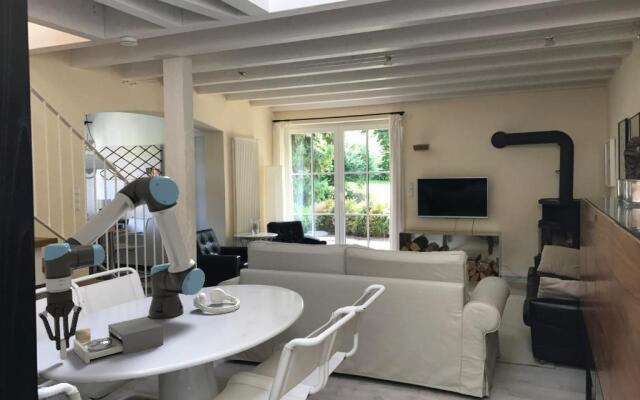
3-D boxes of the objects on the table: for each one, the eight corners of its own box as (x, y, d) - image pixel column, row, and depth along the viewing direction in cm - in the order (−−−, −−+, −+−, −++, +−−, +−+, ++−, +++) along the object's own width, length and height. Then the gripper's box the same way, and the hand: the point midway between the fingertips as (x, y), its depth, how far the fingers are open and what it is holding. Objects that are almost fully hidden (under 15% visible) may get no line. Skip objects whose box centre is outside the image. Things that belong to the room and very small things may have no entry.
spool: (74, 346, 168) (73, 330, 168) (89, 342, 171) (88, 327, 171) (77, 349, 164) (76, 333, 164) (92, 346, 167) (91, 330, 167)
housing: (146, 333, 179) (145, 316, 179) (163, 344, 167) (162, 325, 166) (108, 343, 170) (107, 324, 170) (123, 355, 157) (122, 335, 157)
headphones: (188, 310, 211) (219, 320, 201) (188, 293, 210) (220, 303, 200) (218, 300, 228) (248, 309, 217) (219, 284, 227) (249, 293, 217)
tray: (114, 340, 171) (113, 330, 171) (129, 352, 159) (128, 341, 159) (73, 350, 162) (73, 340, 162) (86, 363, 150) (85, 352, 149)
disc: (109, 341, 166) (109, 336, 166) (115, 347, 160) (114, 341, 159) (85, 347, 161) (85, 341, 161) (90, 353, 155) (89, 347, 155)
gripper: (38, 295, 145) (43, 367, 146) (83, 287, 153) (87, 356, 154) (34, 291, 150) (39, 361, 151) (77, 284, 159) (81, 350, 160)
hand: (63, 358), depth 153 cm, fingers closed
